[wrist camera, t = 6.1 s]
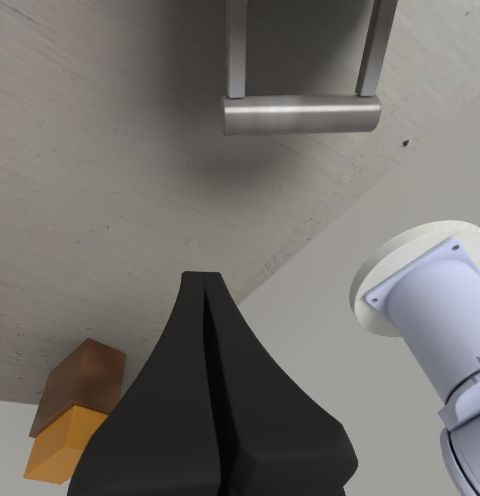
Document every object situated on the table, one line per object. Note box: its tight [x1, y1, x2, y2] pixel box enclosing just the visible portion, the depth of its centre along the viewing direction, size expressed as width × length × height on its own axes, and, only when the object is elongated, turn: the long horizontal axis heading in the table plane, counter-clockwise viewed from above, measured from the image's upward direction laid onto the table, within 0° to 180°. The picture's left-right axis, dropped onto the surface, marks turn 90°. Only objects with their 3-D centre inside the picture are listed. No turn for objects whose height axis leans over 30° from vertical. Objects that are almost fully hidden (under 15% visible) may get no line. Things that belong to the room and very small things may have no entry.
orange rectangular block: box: [23, 405, 108, 484], centre depth 23 cm, size 5×3×3 cm, turn 134°
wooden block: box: [29, 338, 126, 438], centre depth 26 cm, size 3×6×5 cm, turn 134°
